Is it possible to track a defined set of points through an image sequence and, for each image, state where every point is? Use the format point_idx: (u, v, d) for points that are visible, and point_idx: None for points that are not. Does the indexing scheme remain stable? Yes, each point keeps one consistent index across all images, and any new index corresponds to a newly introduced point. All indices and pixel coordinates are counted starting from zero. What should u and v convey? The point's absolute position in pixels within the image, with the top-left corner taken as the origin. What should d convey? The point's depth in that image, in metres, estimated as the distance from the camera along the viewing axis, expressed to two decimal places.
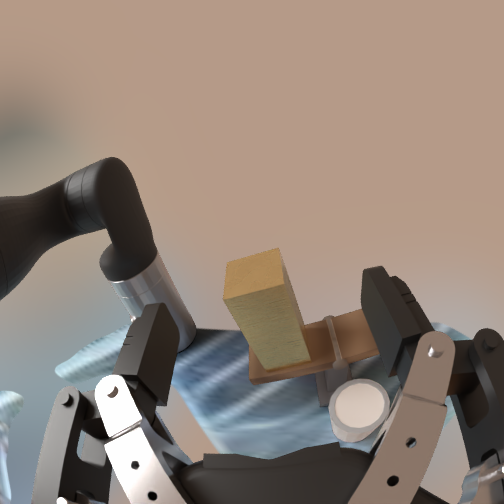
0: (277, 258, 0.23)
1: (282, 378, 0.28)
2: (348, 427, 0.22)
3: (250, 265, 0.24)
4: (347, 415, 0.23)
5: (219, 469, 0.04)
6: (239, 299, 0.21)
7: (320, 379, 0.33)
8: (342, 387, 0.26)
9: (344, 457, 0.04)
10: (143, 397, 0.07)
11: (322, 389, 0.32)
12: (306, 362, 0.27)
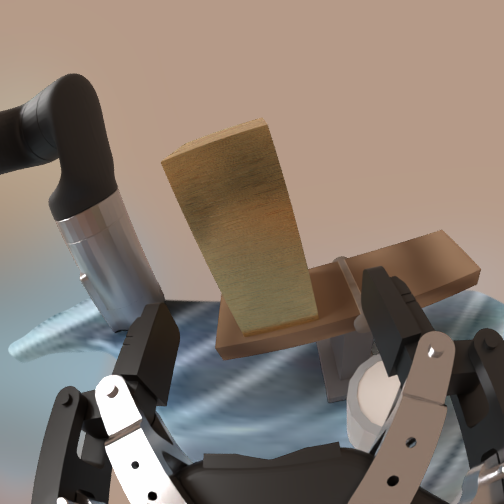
0: (259, 120, 0.13)
1: (270, 348, 0.17)
2: None
3: (216, 133, 0.14)
4: (379, 409, 0.13)
5: (219, 469, 0.04)
6: (187, 160, 0.11)
7: (328, 362, 0.23)
8: (366, 364, 0.16)
9: (344, 457, 0.04)
10: (143, 397, 0.07)
11: (331, 376, 0.22)
12: (310, 318, 0.16)
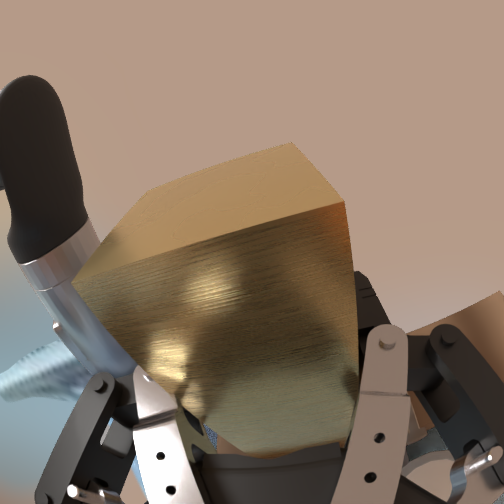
0: (291, 154, 0.07)
1: None
2: None
3: (202, 181, 0.07)
4: None
5: (219, 469, 0.04)
6: (126, 286, 0.04)
7: None
8: (402, 474, 0.09)
9: (344, 457, 0.04)
10: None
11: None
12: (344, 442, 0.10)
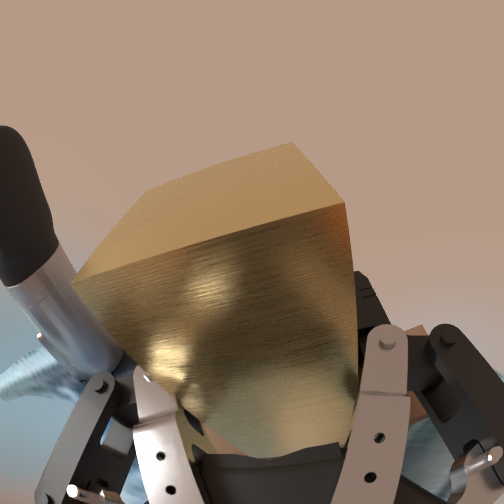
0: (292, 154, 0.07)
1: None
2: None
3: (201, 181, 0.07)
4: None
5: (219, 469, 0.04)
6: (125, 286, 0.04)
7: None
8: None
9: (344, 457, 0.04)
10: None
11: None
12: (343, 442, 0.10)
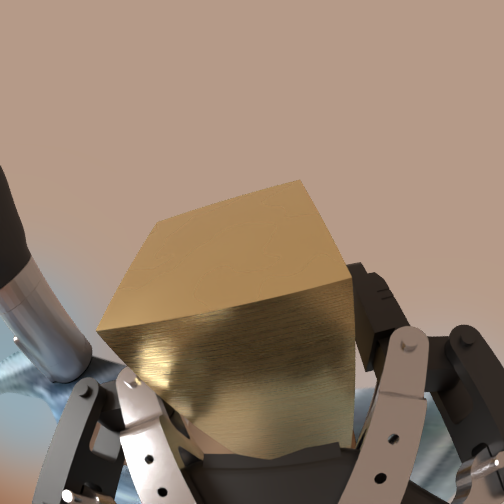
0: (301, 199, 0.07)
1: None
2: None
3: (213, 222, 0.07)
4: None
5: (219, 469, 0.04)
6: (150, 337, 0.05)
7: None
8: None
9: (344, 457, 0.04)
10: None
11: None
12: None
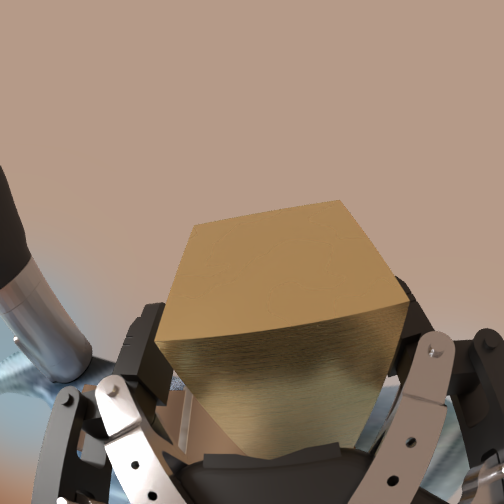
0: (347, 221, 0.07)
1: None
2: None
3: (263, 234, 0.08)
4: None
5: (219, 469, 0.04)
6: (218, 350, 0.05)
7: None
8: None
9: (344, 457, 0.04)
10: (143, 397, 0.07)
11: None
12: None
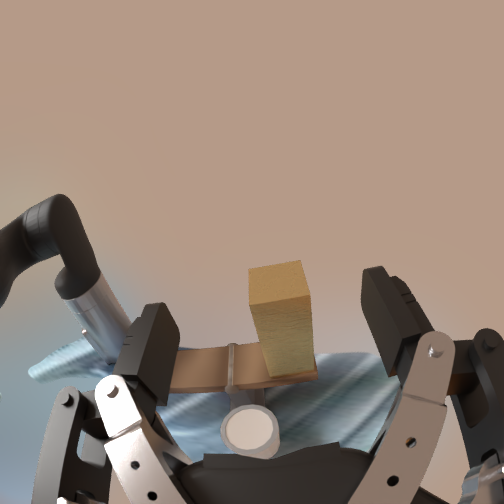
0: (300, 270, 0.24)
1: (181, 392, 0.29)
2: (235, 447, 0.24)
3: (273, 274, 0.25)
4: (236, 436, 0.25)
5: (219, 469, 0.04)
6: (265, 306, 0.22)
7: None
8: (235, 410, 0.28)
9: (344, 457, 0.04)
10: (143, 397, 0.07)
11: (234, 408, 0.34)
12: (309, 370, 0.28)
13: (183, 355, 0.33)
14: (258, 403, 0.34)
